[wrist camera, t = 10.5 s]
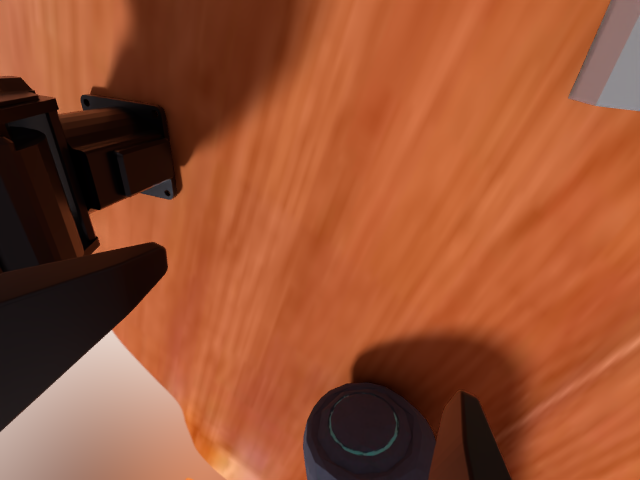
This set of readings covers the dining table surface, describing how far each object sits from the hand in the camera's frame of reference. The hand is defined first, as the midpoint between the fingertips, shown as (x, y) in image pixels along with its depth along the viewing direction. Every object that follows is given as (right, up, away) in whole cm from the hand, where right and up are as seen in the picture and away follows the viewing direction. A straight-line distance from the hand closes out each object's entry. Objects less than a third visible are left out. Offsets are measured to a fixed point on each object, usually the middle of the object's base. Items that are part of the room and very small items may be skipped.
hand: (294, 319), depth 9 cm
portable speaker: (+8, -19, +23) cm, 31 cm away
